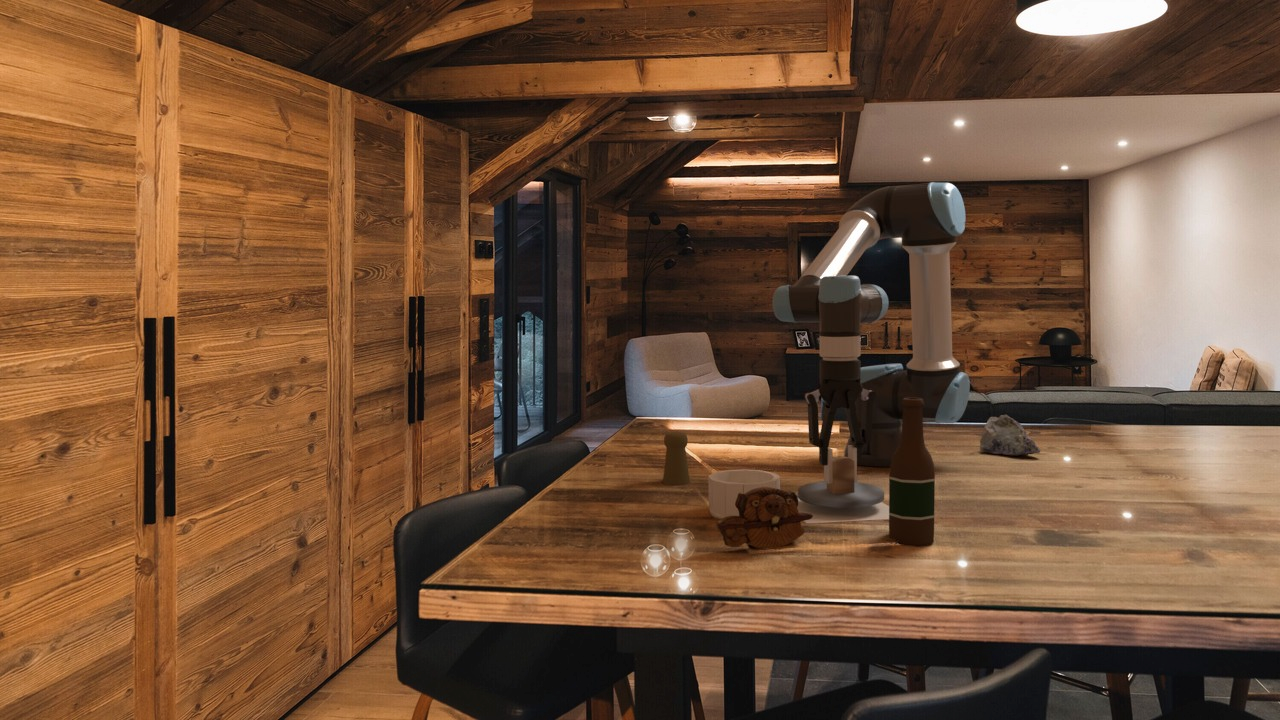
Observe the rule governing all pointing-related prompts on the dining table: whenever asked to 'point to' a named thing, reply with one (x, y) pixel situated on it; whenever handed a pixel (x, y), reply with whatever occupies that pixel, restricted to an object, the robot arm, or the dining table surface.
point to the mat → (843, 513)
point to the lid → (841, 489)
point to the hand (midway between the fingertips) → (840, 481)
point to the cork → (676, 459)
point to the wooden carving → (764, 519)
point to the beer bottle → (912, 482)
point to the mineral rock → (1006, 438)
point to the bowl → (735, 488)
